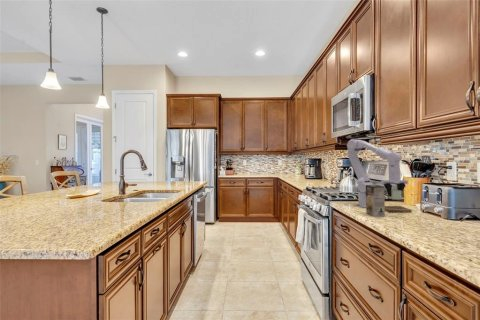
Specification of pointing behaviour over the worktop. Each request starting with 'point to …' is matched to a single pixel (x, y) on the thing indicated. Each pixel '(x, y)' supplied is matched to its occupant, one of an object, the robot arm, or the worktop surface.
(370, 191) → the coffee box
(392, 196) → the sage block
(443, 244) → the worktop surface
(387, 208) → the walnut board
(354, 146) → the robot arm
